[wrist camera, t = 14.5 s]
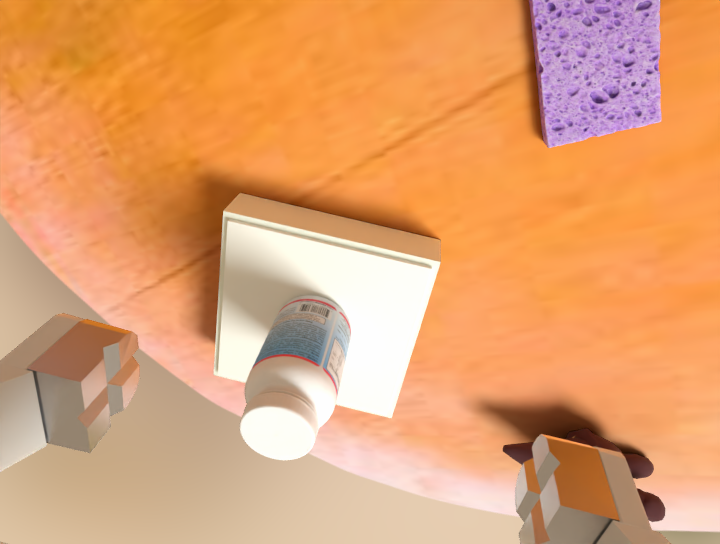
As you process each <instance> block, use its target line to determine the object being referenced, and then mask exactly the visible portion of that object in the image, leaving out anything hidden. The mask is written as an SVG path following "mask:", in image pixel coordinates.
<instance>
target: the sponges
mask: <svg viewBox="0 0 720 544" xmlns="http://www.w3.org/2000/svg"><path fill="white" fill-rule="evenodd" d="M529 5H530V12H531V21H532V32H533V42H534V52H535V62H536V70H537V79H538V94H539V104H540V115H541V126H542V134H543V141H544V143H545V144H546V145H547V147H548V148H550V147H555V146H559V145H564V144H568V143H573V142H578V141H582V140H585V139H587V138H589V137H592V136H597V137H599V136H602V135H606V134H611V133H614V132H616V131H621V130H625V129H630V128H637V127H642V126H646V125H648V124H653V123H658V122H660V121H661V109H660V94H661V92H660V81H659V80H660V72H659V68H658V60H659V58H660V38H661V35H660V31H659V24H660V15H659V10H660V0H529Z"/></svg>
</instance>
